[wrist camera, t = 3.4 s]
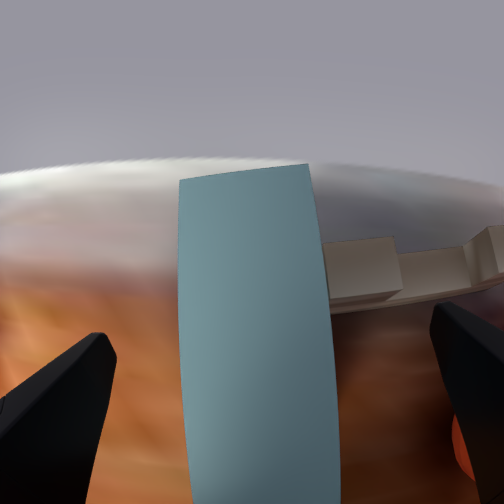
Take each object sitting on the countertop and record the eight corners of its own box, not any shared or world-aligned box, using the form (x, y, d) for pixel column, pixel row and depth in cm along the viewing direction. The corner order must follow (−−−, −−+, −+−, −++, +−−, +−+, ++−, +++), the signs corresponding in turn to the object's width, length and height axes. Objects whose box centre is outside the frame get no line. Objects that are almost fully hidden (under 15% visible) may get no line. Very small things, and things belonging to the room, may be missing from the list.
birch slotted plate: (486, 289, 15) (538, 264, 10) (318, 316, 16) (330, 298, 11) (479, 255, 15) (527, 222, 10) (314, 276, 16) (323, 243, 11)
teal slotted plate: (311, 444, 14) (337, 582, 3) (262, 448, 14) (208, 584, 3) (299, 288, 16) (308, 163, 6) (251, 292, 16) (179, 179, 6)
